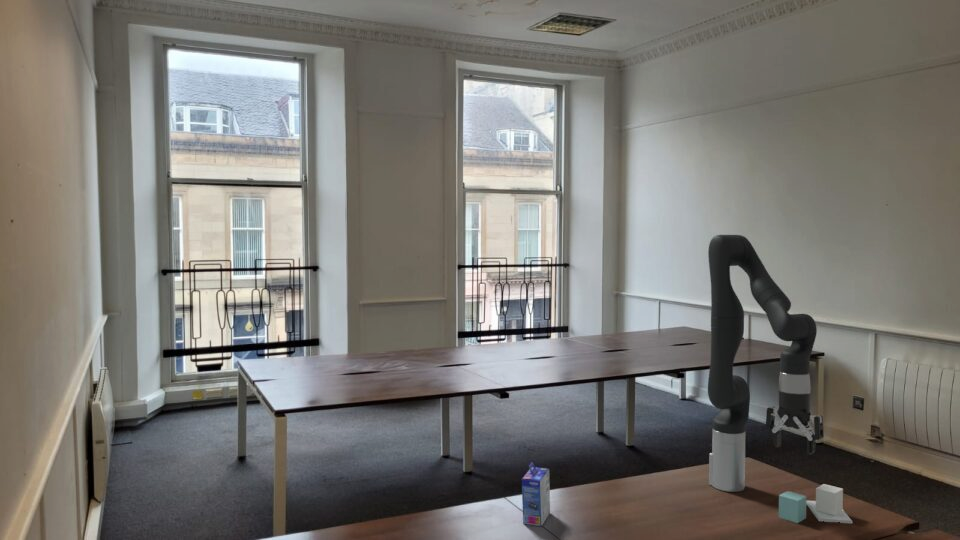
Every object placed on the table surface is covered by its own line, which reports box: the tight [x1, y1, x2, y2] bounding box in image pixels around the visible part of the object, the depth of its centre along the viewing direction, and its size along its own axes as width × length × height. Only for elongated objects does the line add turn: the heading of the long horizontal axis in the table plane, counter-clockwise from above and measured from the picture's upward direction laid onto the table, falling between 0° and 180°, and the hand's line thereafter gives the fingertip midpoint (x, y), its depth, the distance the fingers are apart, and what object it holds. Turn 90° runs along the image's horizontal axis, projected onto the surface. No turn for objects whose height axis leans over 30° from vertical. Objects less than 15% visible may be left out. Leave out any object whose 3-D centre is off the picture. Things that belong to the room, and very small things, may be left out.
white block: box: [815, 483, 844, 515], centre depth 182 cm, size 5×5×6 cm
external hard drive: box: [806, 500, 853, 525], centre depth 183 cm, size 2×8×12 cm
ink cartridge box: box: [521, 461, 551, 527], centre depth 180 cm, size 10×6×14 cm, turn 161°
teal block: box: [778, 490, 807, 524], centre depth 180 cm, size 5×5×6 cm
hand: (793, 450), depth 179 cm, fingers open, 8 cm apart
